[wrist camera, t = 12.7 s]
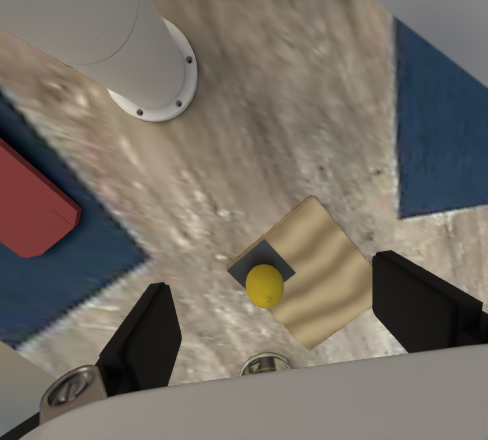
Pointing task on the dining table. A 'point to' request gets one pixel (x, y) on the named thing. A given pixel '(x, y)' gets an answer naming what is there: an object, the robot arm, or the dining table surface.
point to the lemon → (265, 286)
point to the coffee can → (265, 364)
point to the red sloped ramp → (31, 207)
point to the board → (311, 273)
